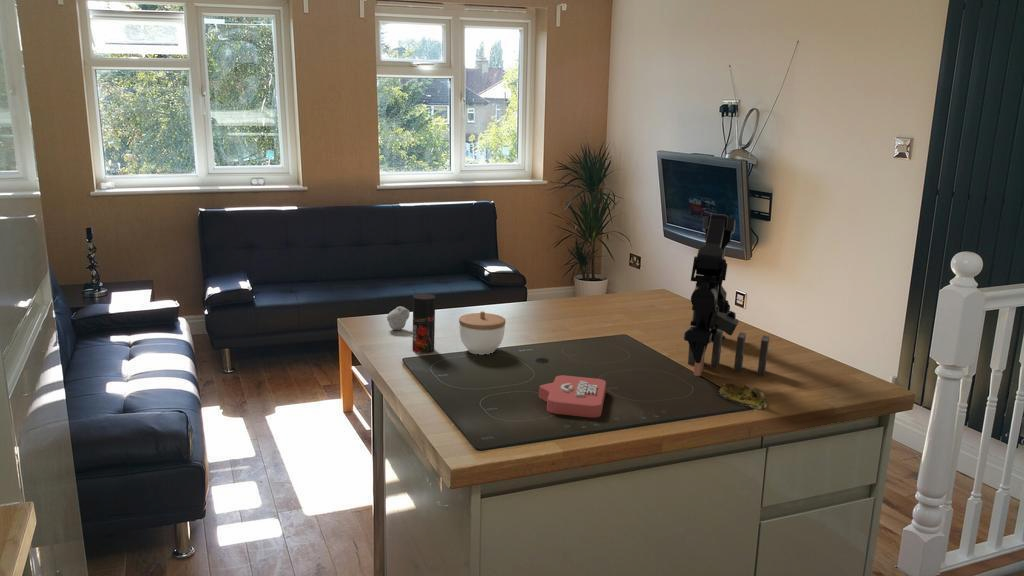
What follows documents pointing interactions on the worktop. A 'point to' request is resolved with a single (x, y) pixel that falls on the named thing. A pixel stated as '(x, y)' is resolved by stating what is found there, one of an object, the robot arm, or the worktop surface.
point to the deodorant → (423, 323)
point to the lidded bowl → (481, 332)
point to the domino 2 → (699, 365)
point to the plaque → (574, 396)
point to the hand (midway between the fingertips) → (699, 360)
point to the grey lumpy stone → (398, 318)
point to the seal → (744, 395)
